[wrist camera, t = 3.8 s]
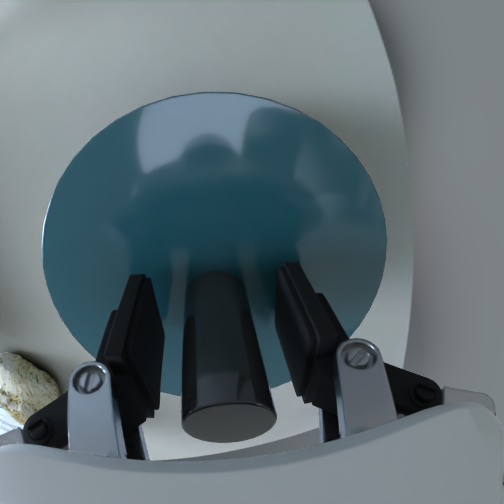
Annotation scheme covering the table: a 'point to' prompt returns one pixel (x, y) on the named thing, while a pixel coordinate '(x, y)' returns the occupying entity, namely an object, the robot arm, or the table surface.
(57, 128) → the table surface
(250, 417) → the lid
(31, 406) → the decorative item
